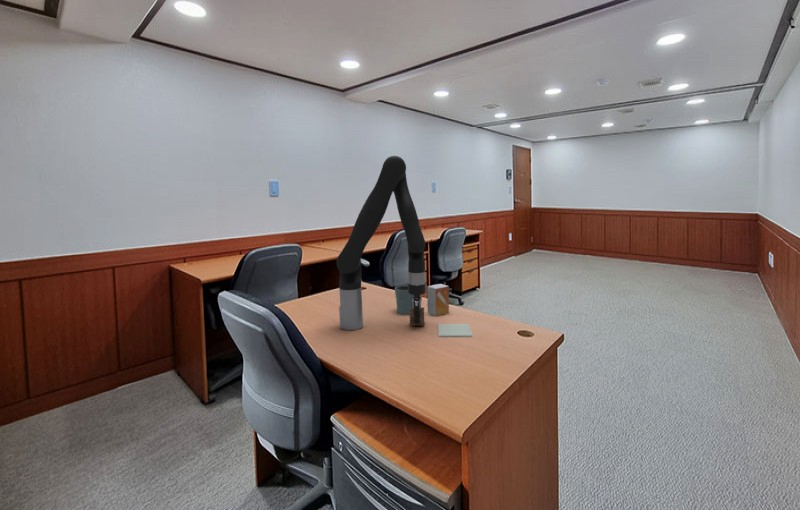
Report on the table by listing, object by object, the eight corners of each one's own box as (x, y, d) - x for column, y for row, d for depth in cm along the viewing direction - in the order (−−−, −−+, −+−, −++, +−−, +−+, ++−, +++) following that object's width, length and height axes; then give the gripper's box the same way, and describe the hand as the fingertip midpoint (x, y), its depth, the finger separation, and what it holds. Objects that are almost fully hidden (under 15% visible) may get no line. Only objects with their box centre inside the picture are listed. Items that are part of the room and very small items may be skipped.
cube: (409, 325, 159) (409, 311, 158) (410, 320, 165) (410, 307, 164) (424, 325, 159) (424, 311, 158) (424, 320, 164) (424, 307, 163)
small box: (435, 316, 172) (435, 288, 170) (427, 313, 177) (426, 286, 175) (449, 313, 176) (449, 285, 174) (440, 309, 182) (440, 283, 180)
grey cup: (402, 316, 173) (401, 291, 172) (391, 311, 182) (390, 286, 180) (420, 312, 178) (420, 287, 177) (409, 307, 187) (408, 283, 185)
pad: (438, 336, 148) (438, 335, 148) (438, 325, 161) (437, 324, 161) (472, 336, 147) (472, 335, 147) (468, 325, 160) (468, 323, 160)
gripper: (408, 278, 166) (409, 315, 169) (406, 286, 152) (407, 326, 155) (425, 278, 166) (426, 315, 168) (425, 286, 151) (425, 326, 154)
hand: (417, 320), depth 162 cm, fingers closed on cube, 6 cm apart
